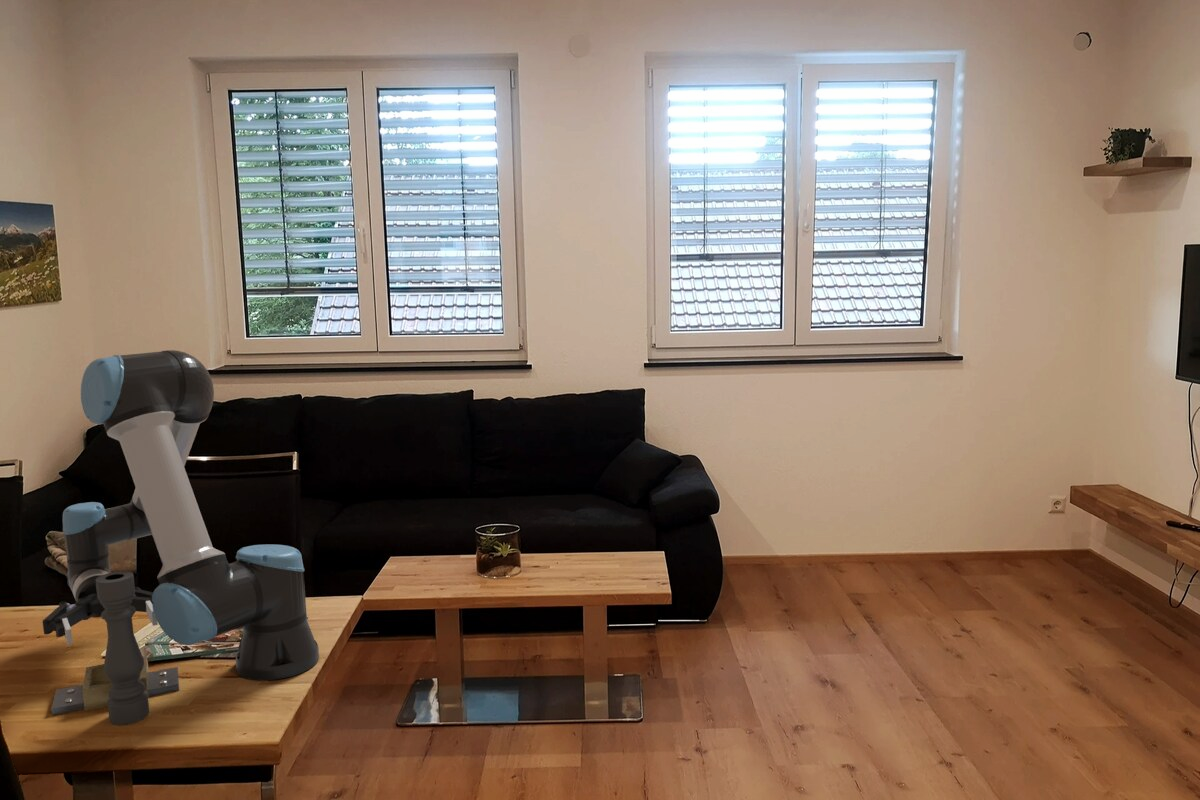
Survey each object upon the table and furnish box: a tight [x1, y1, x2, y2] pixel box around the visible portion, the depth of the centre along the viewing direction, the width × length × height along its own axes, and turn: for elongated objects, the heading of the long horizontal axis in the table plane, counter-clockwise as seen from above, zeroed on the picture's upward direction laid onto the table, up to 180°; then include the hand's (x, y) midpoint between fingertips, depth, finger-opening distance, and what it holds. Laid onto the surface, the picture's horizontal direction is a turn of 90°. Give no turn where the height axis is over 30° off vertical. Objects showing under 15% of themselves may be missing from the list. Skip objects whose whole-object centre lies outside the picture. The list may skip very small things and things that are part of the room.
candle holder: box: [96, 570, 151, 726], centre depth 157 cm, size 6×6×25 cm
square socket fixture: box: [51, 655, 180, 716], centre depth 167 cm, size 20×10×4 cm, turn 115°
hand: (113, 627), depth 164 cm, fingers open, 13 cm apart
